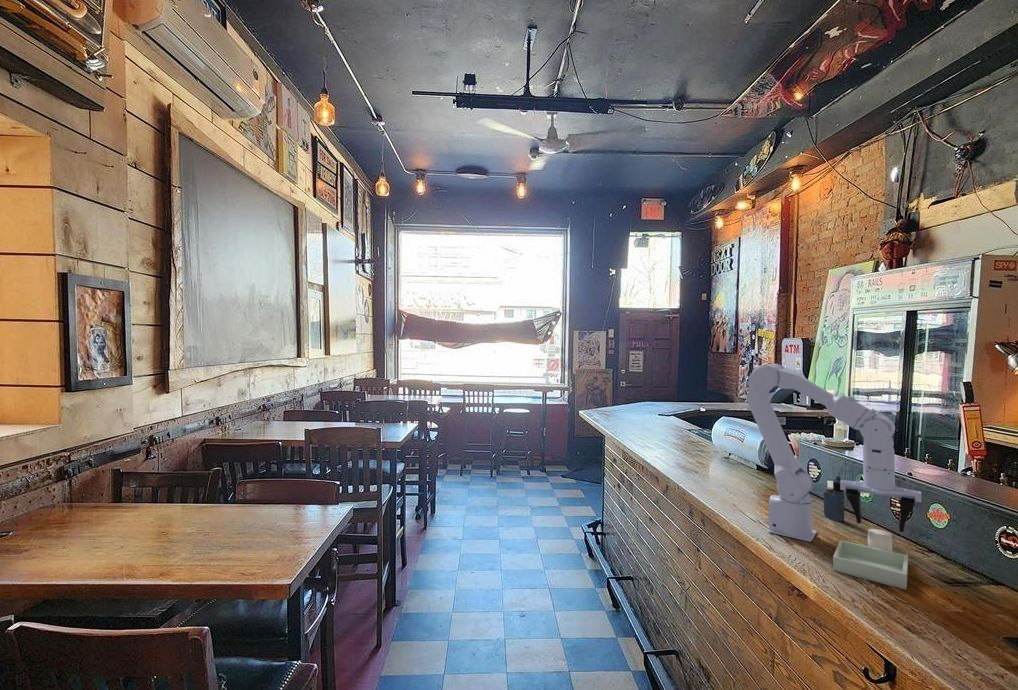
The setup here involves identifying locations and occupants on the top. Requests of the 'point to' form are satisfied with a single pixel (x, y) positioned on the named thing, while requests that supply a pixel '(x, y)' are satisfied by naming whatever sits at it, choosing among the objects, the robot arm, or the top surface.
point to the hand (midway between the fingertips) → (879, 526)
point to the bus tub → (871, 564)
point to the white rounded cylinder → (880, 539)
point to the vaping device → (834, 501)
